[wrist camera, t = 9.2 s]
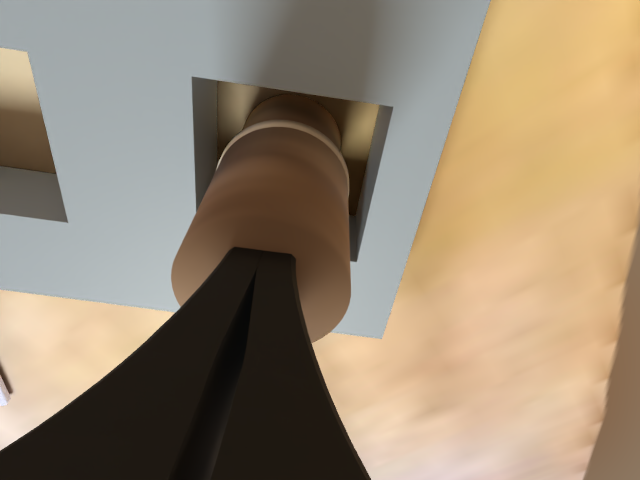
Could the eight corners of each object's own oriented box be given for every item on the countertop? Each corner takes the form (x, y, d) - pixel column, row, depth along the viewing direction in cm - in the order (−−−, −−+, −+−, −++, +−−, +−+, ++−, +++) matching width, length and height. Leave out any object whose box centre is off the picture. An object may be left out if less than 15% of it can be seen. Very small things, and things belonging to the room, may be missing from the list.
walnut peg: (232, 182, 17) (171, 339, 11) (239, 77, 15) (165, 199, 9) (335, 199, 18) (334, 362, 11) (358, 98, 15) (373, 231, 9)
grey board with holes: (-50, 231, 20) (-106, 275, 17) (-220, -162, 12) (-363, -183, 10) (377, 288, 20) (381, 339, 18) (473, -48, 13) (503, -39, 10)
